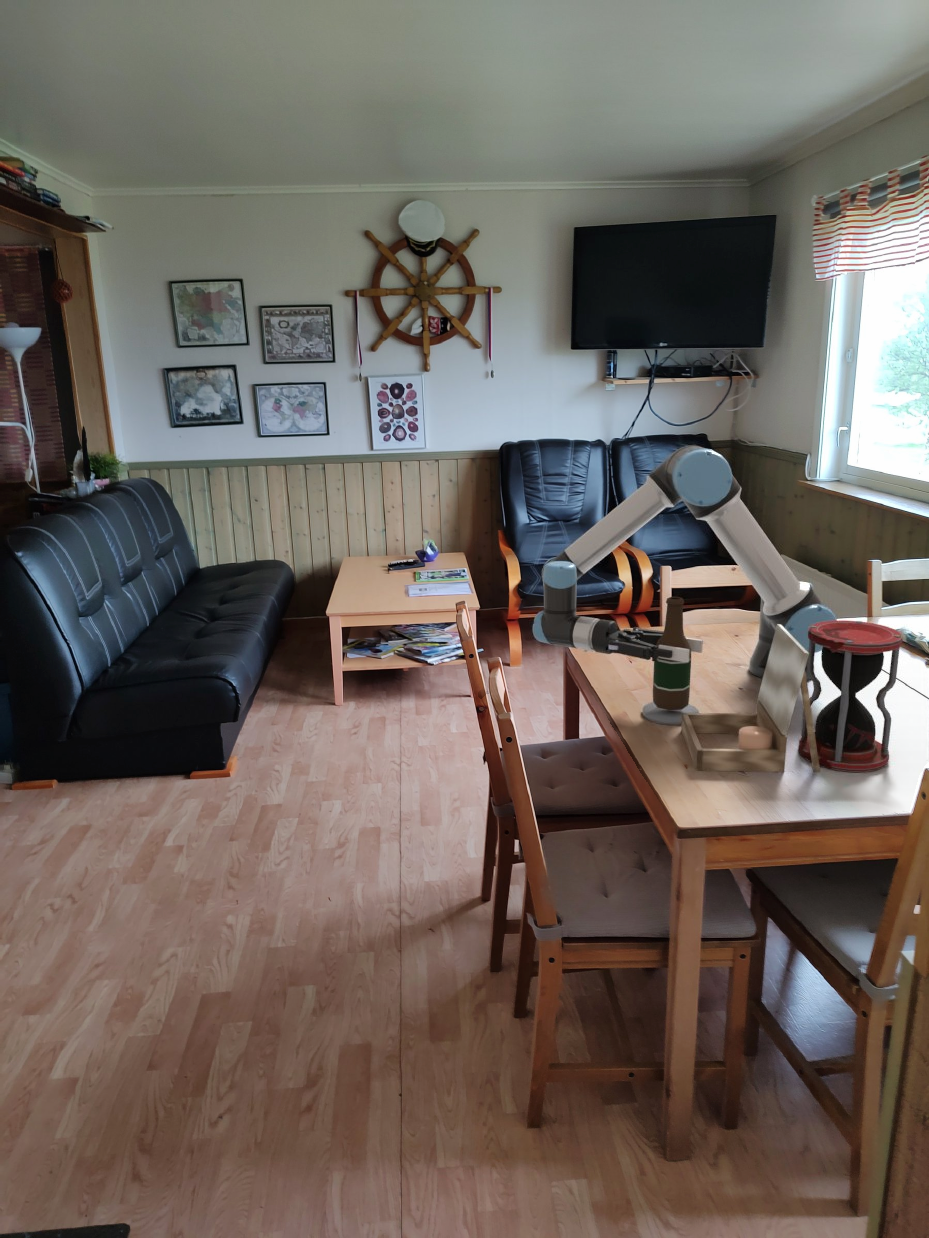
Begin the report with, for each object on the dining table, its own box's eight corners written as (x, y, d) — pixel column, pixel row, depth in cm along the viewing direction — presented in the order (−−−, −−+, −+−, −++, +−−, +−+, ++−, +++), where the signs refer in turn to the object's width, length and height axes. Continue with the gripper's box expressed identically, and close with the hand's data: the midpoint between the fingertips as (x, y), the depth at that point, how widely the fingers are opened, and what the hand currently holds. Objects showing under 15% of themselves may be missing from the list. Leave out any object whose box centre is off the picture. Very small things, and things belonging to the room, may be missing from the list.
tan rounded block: (765, 754, 166) (767, 726, 165) (774, 768, 161) (776, 738, 159) (734, 754, 167) (735, 726, 165) (741, 767, 161) (743, 738, 159)
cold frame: (792, 734, 177) (801, 623, 170) (820, 775, 158) (832, 652, 152) (681, 733, 179) (685, 623, 173) (696, 773, 161) (702, 652, 154)
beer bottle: (668, 713, 182) (673, 604, 175) (645, 702, 188) (648, 596, 182) (696, 706, 185) (702, 599, 179) (672, 695, 192) (677, 592, 185)
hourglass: (805, 732, 176) (815, 615, 169) (892, 747, 168) (906, 625, 161) (790, 762, 163) (801, 636, 156) (884, 779, 155) (899, 648, 148)
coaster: (693, 705, 193) (693, 700, 192) (703, 725, 181) (703, 721, 181) (639, 704, 194) (639, 700, 193) (645, 724, 182) (645, 720, 182)
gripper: (616, 640, 202) (711, 655, 189) (576, 663, 187) (676, 681, 174) (617, 609, 200) (712, 623, 187) (576, 630, 185) (678, 646, 172)
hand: (695, 651), depth 181 cm, fingers closed on beer bottle, 7 cm apart
